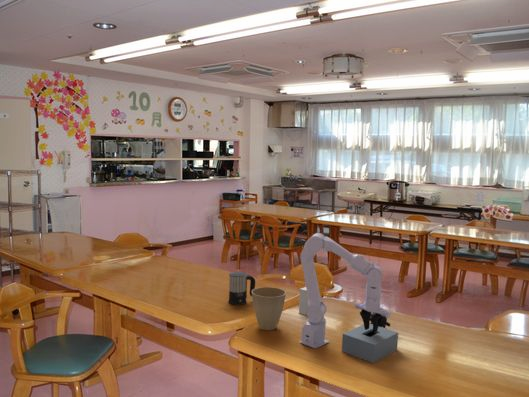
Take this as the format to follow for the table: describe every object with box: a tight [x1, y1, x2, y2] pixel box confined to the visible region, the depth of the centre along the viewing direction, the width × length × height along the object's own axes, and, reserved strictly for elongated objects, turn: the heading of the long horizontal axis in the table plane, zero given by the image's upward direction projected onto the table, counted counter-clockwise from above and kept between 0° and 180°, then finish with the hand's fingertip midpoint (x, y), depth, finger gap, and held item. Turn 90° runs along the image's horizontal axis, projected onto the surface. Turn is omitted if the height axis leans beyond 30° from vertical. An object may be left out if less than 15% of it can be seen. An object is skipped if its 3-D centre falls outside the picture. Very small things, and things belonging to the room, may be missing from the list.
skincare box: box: [298, 286, 309, 316], centre depth 221 cm, size 6×4×12 cm
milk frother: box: [228, 271, 256, 306], centre depth 237 cm, size 14×16×15 cm
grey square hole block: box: [341, 323, 399, 364], centre depth 181 cm, size 18×14×7 cm
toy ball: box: [370, 313, 391, 328], centre depth 204 cm, size 10×10×11 cm
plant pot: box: [251, 286, 287, 331], centre depth 200 cm, size 15×15×16 cm
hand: (370, 330), depth 180 cm, fingers open, 3 cm apart
